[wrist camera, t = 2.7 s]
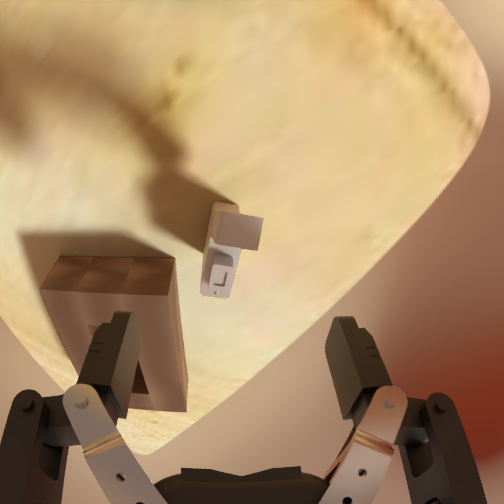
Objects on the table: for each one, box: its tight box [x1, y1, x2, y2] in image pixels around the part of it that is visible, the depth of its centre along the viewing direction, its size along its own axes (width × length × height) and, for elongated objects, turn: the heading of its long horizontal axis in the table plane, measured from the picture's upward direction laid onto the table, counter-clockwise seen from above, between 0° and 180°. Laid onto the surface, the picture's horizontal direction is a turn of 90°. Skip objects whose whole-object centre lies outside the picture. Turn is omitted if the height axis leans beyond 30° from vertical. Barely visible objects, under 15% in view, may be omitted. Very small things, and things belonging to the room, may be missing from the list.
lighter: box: [200, 201, 263, 299], centre depth 17 cm, size 7×2×8 cm, turn 167°
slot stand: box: [39, 256, 188, 412], centre depth 24 cm, size 9×15×4 cm, turn 176°
